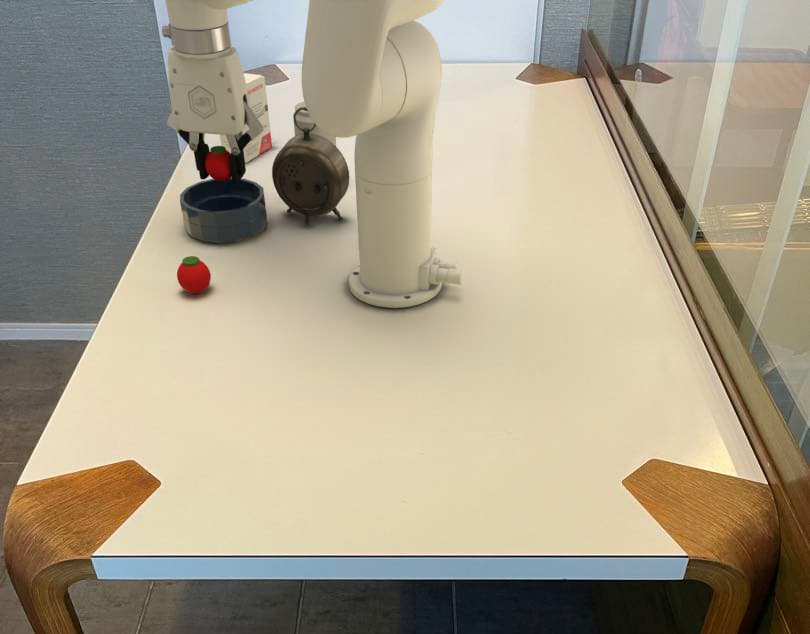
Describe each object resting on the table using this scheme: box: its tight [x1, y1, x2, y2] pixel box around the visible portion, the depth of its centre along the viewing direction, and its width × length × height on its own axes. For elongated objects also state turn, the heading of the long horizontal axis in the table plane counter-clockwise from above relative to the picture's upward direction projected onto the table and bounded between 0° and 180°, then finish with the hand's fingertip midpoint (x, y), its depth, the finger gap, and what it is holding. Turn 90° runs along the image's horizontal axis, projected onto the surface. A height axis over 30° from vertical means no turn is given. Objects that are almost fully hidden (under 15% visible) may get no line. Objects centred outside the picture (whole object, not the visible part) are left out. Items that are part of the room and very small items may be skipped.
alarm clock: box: [271, 107, 350, 227], centre depth 125 cm, size 11×5×16 cm, turn 73°
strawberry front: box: [205, 145, 232, 181], centre depth 124 cm, size 4×4×4 cm
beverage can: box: [292, 101, 337, 147], centre depth 136 cm, size 6×6×12 cm
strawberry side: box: [176, 255, 212, 294], centre depth 114 cm, size 4×4×4 cm
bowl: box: [179, 177, 269, 243], centre depth 128 cm, size 12×12×5 cm
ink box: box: [219, 72, 273, 164], centre depth 146 cm, size 8×5×12 cm, turn 152°
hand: (222, 176), depth 126 cm, fingers closed on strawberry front, 4 cm apart
